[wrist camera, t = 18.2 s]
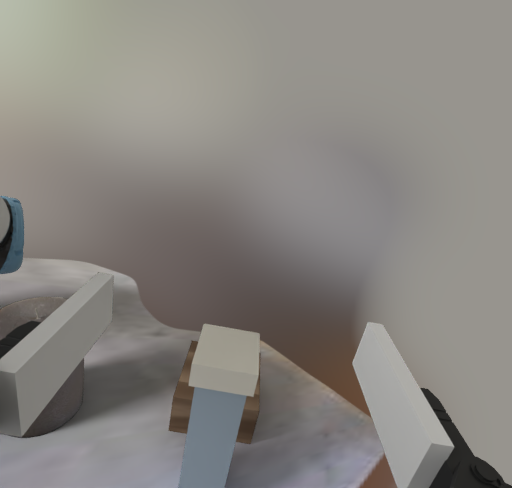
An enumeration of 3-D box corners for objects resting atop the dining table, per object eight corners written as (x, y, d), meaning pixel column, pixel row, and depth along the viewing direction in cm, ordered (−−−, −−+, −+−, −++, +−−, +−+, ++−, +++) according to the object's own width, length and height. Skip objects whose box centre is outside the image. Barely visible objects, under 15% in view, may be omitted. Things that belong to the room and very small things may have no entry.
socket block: (250, 443, 42) (259, 411, 40) (168, 430, 42) (173, 396, 40) (253, 381, 52) (260, 352, 50) (187, 370, 52) (192, 340, 50)
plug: (221, 524, 33) (258, 375, 26) (168, 516, 33) (191, 363, 26) (227, 469, 38) (259, 333, 31) (181, 462, 38) (204, 323, 31)
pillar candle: (-24, 440, 36) (-40, 334, 31) (18, 375, 45) (11, 283, 40) (70, 437, 39) (70, 338, 33) (93, 376, 47) (95, 290, 42)
